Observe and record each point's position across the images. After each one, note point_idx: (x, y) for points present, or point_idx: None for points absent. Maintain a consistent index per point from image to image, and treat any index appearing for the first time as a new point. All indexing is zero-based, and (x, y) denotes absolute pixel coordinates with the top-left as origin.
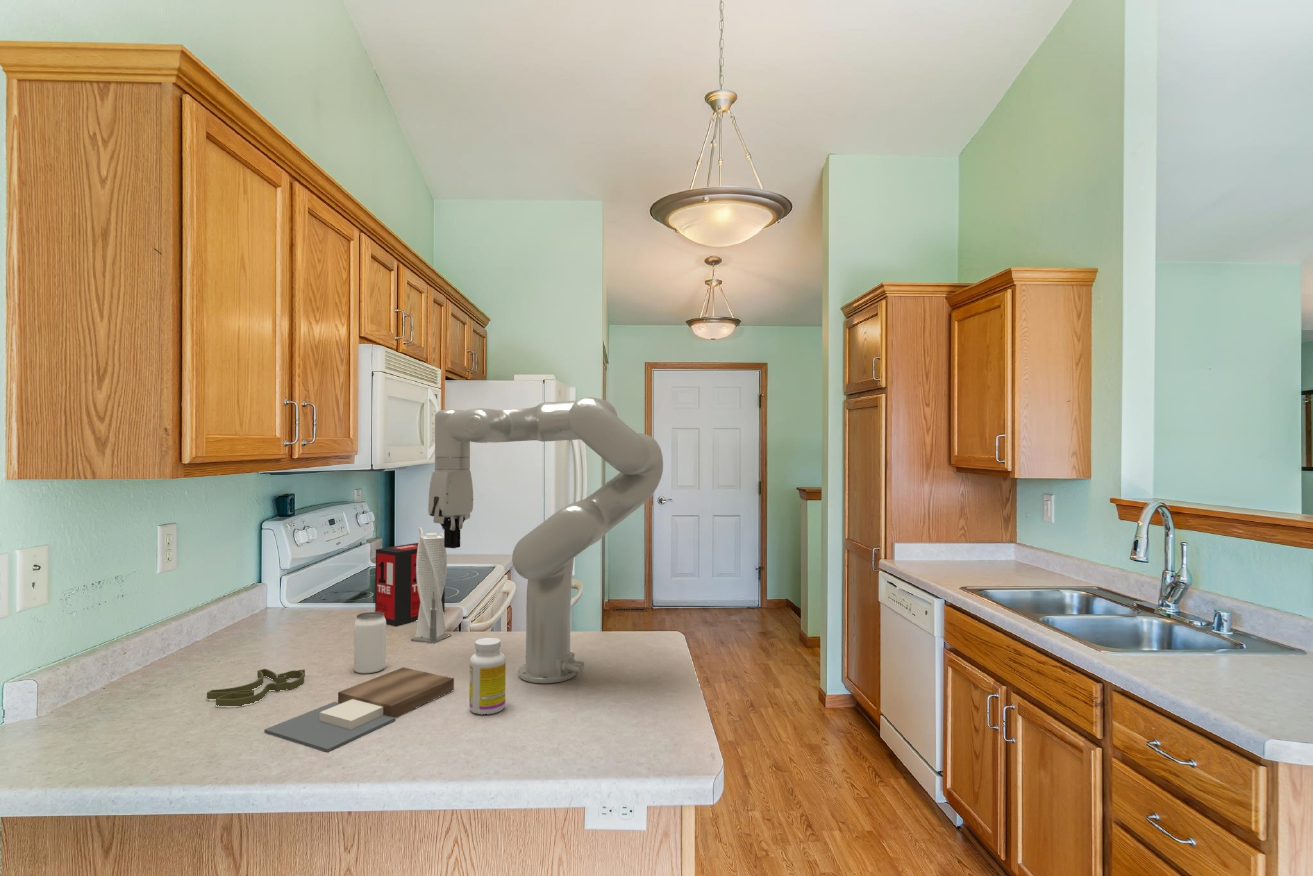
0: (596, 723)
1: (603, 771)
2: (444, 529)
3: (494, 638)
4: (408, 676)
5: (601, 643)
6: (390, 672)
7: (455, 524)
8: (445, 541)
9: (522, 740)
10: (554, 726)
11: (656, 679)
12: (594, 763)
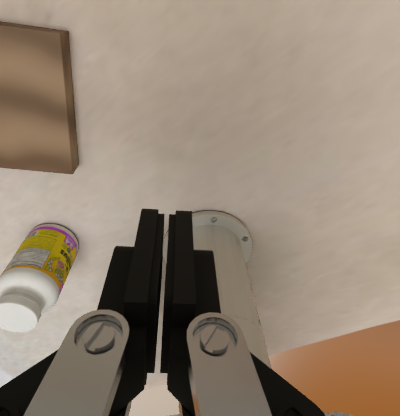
0: None
1: (14, 370)
2: (89, 328)
3: (33, 318)
4: (27, 88)
5: (370, 252)
6: (18, 29)
7: (192, 397)
8: (112, 258)
9: None
10: (61, 315)
11: None
12: (20, 362)
